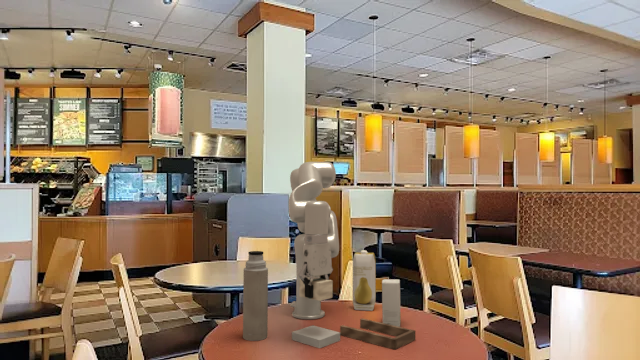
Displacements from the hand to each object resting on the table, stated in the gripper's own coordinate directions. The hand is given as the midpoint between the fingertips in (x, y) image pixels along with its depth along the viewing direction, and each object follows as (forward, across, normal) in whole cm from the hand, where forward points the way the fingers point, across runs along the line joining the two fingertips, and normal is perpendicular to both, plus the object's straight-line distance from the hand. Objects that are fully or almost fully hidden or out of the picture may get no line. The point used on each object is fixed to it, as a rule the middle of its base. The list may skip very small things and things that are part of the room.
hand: (316, 295), depth 143 cm
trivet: (+14, 0, 0) cm, 14 cm away
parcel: (+1, 0, 0) cm, 1 cm away
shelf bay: (+14, +16, -12) cm, 25 cm away
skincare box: (+15, +32, -8) cm, 36 cm away
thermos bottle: (+15, -11, +17) cm, 25 cm away
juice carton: (+14, +43, +12) cm, 47 cm away
